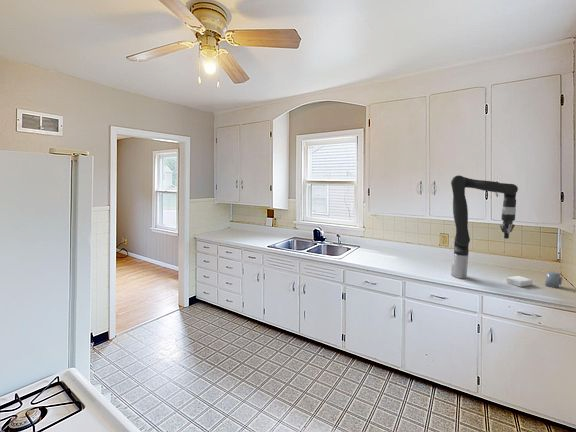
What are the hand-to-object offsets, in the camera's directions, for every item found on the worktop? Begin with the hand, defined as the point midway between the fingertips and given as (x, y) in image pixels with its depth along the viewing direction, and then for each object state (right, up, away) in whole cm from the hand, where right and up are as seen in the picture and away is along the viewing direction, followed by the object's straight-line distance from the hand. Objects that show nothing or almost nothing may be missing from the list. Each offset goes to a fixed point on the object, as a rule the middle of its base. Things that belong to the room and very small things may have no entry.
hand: (506, 238), depth 206 cm
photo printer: (+5, -30, 0) cm, 30 cm away
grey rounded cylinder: (+29, -32, -2) cm, 44 cm away
